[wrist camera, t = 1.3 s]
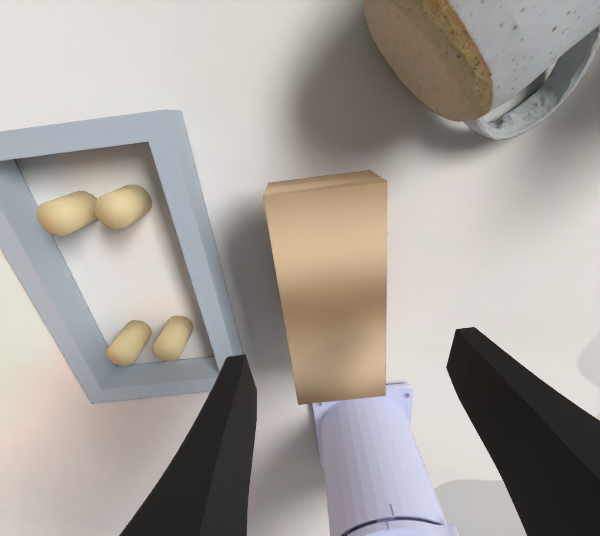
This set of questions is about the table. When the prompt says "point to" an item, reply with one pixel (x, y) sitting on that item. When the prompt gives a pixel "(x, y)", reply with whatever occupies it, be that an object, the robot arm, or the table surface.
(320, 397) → the tan rectangular block
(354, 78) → the table surface
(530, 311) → the table surface
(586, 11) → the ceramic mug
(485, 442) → the robot arm
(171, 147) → the peg frame
